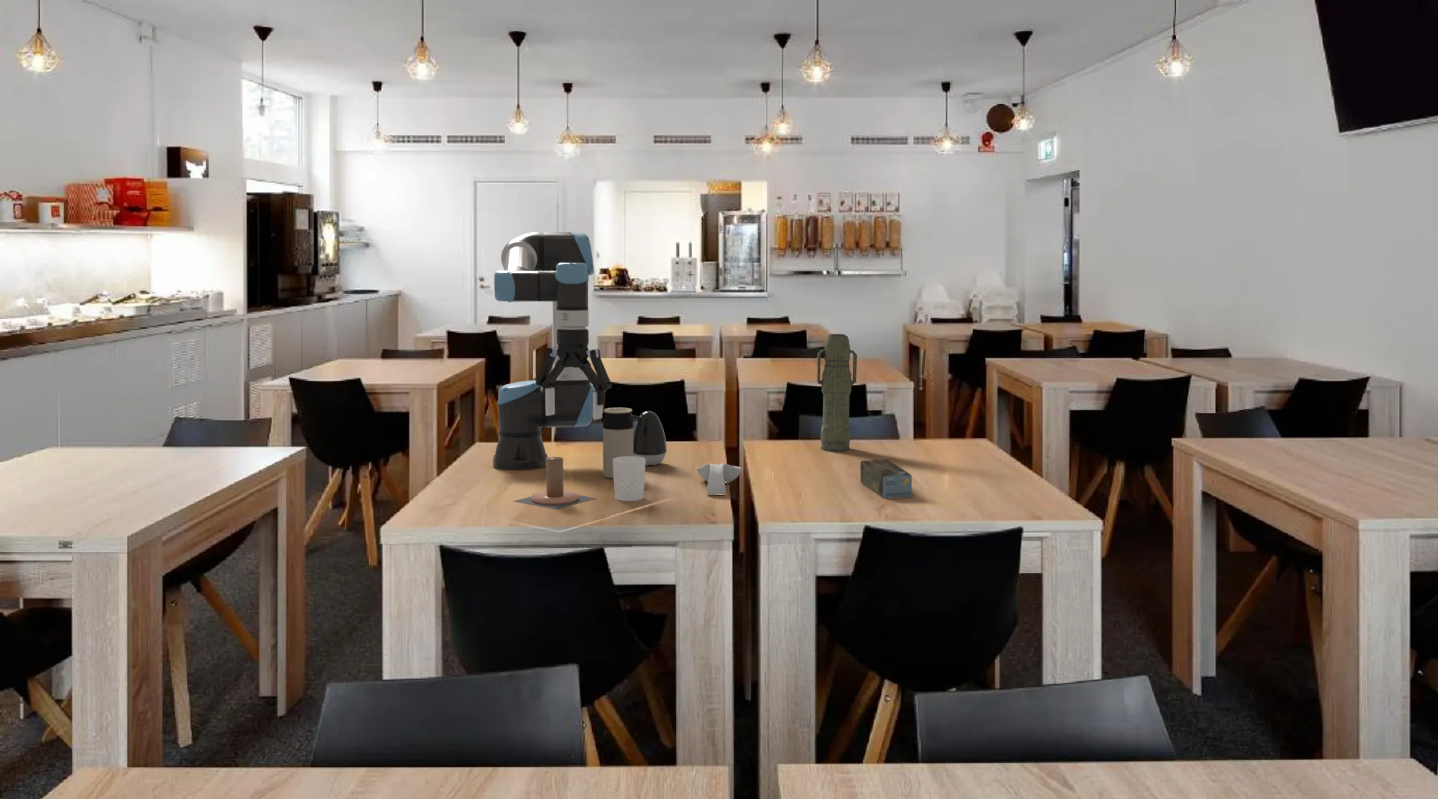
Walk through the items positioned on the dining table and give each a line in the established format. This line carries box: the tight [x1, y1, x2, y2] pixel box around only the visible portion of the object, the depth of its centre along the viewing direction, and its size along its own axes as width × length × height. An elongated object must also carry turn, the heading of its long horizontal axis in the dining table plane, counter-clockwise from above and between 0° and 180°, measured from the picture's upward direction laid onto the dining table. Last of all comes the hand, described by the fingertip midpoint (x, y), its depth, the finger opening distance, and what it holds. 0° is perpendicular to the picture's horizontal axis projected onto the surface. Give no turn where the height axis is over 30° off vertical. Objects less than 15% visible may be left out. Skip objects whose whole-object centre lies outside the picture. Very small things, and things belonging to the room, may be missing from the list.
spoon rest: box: [696, 462, 742, 496], centre depth 281 cm, size 24×12×7 cm, turn 179°
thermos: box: [816, 333, 858, 453], centre depth 333 cm, size 9×12×35 cm
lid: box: [532, 456, 579, 505], centre depth 261 cm, size 11×11×10 cm
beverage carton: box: [860, 458, 913, 499], centre depth 278 cm, size 8×19×7 cm, turn 9°
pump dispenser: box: [630, 410, 668, 467], centre depth 308 cm, size 10×10×15 cm
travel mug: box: [602, 407, 634, 480], centre depth 291 cm, size 8×8×18 cm
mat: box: [512, 494, 597, 510], centre depth 262 cm, size 14×14×1 cm
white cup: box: [613, 456, 646, 502], centre depth 264 cm, size 8×8×10 cm
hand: (573, 416), depth 263 cm, fingers open, 13 cm apart
